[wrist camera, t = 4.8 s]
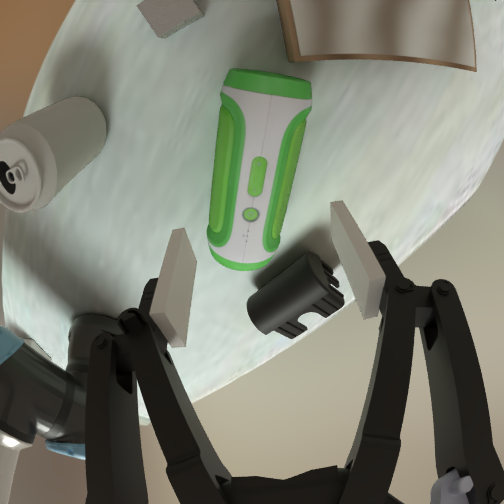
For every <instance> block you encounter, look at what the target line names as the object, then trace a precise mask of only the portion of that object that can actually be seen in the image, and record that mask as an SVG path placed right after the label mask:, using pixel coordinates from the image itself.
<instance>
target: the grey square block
mask: <svg viewBox="0 0 504 504" xmlns="http://www.w3.org/2000/svg"><path fill="white" fill-rule="evenodd" d="M137 7H138V8H139V10H140V11H141V13H142V14H143V15H144V17H145V18H146V20H147V21H148V23H149V24H150V26H151V27H152V29H153V30H154V32H155V33H156V35H157V36H158V37H159V38H167V37H169V36H170V35H172V34H173V33H175V32H177V31H178V30H180V29H182V28H184V27H185V26H187V25H189V24H191V23H192V22H194V21H196V20H198V19H200V18H202V17H204V15H203V13H202V12H201V10H200V9H199V7H198V6H197V5H196V3H195V2H194V0H144V1H143V2H141V3H140V4H138V5H137Z"/></svg>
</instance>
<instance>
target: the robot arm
mask: <svg viewBox="0 0 504 504" xmlns="http://www.w3.org/2000/svg"><path fill="white" fill-rule="evenodd" d="M330 206H331V240H332V242H333V244H334V247H335V249H336V251H337V254H338V256H339V258H340V261H341V263H342V266H343V268H344V270H345V273H346V275H347V278H348V280H349V283H350V285H351V288H352V291H353V293H354V296H355V298H356V301H357V303H358V306H359V309H360V312H361V314H362V317H363V319H368V318H372V317H377V316H378V313H379V309H380V312H381V314H382V319H381V324H380V327H379V330H380V331H379V337H378V343H377V349H376V355H375V360H374V364H373V369H372V374H371V379H370V384H369V387H368V392H367V396H366V400H365V404H364V408H363V411H362V415H361V419H360V422H359V426H358V429H357V433H356V436H355V440H354V443H353V446H352V448H351V451H350V453H349V456H348V458H347V462H346V464H345V467H344V468H337V465H336V466H331V467H325V468H320V469H314V470H310V471H307V472H305V473H302V474H299V475H297V476H294V477H291V478H288V479H285V480H280V479H273V478H265V477H259V476H249V477H232V476H231V474H230V473H229V472H228V470H227V469H226V467H225V466H224V465H223V464H222V462H221V461H220V459H219V457H218V456H217V454H216V452H215V450H214V448H213V446H212V444H211V442H210V440H209V439H208V437H207V435H206V433H205V431H204V429H203V427H202V425H201V423H200V421H199V419H198V417H197V415H196V412H195V410H194V408H193V406H192V404H191V402H190V400H189V398H188V395H187V393H186V391H185V389H184V386H183V384H182V382H181V380H180V377H179V375H178V373H177V370H176V368H175V366H174V363H173V361H172V358H171V356H170V353H169V352H168V350H167V343H169V344H170V346H171V347H172V348H176V347H186V340H187V331H188V323H189V315H190V308H191V300H192V293H193V286H194V279H195V272H196V266H197V260H196V258H195V255H194V252H193V250H192V247H191V245H190V242H189V239H188V237H187V234H186V231H185V228H180V229H175V230H172V234H171V237H170V240H169V243H168V247H167V250H166V254H165V257H164V260H163V264H162V267H161V271H160V275H159V278H154V279H150V280H149V281H148V283H147V284H146V285H145V288H144V291H143V295H142V298H141V301H140V305H139V308H138V309H137V308H129V309H127V310H125V311H124V312H122V313H121V314H120V316H119V317H118V320H114V319H111V318H108V317H105V316H101V315H93V314H87V315H81V316H79V317H77V318H75V319H74V321H73V323H72V325H71V328H70V330H69V335H68V339H69V347H68V364H67V368H66V371H65V370H63V369H62V368H60V367H59V366H57V365H56V364H54V363H53V362H52V361H50V360H49V359H47V358H46V357H44V356H43V355H42V354H40V353H39V352H37V351H36V350H35V349H33V348H32V347H31V346H29V345H28V344H27V343H26V342H24V341H25V340H24V339H23V338H20V337H18V336H17V335H15V334H14V333H13V332H11V331H10V330H9V329H7V328H6V327H5V326H2V325H0V504H8V503H9V497H10V491H11V486H12V481H13V476H14V472H15V467H16V463H17V459H18V455H19V451H20V450H21V449H23V448H27V447H30V446H32V445H33V442H34V439H35V435H36V434H37V435H40V436H42V437H43V438H45V439H46V440H45V443H46V448H47V449H49V450H51V451H54V452H57V453H61V454H64V455H67V456H71V457H75V458H79V459H83V460H85V461H86V478H87V491H88V494H87V498H86V503H85V504H148V494H147V487H146V480H145V474H144V466H143V458H142V449H141V440H140V429H139V416H138V399H137V381H138V384H139V387H140V390H141V394H142V397H143V400H144V403H145V406H146V409H147V412H148V415H149V417H150V420H151V423H152V426H153V428H154V431H155V434H156V436H157V439H158V441H159V444H160V446H161V449H162V451H163V454H164V456H165V458H166V461H167V468H166V473H167V476H168V479H169V481H170V483H171V485H172V487H173V489H174V492H175V494H176V496H177V498H178V500H179V502H180V504H404V503H402V502H401V501H399V500H398V499H397V498H395V497H394V496H392V495H391V494H389V493H388V490H389V487H390V484H391V481H392V477H393V474H394V471H395V467H396V463H397V460H398V456H399V452H400V447H401V440H400V432H401V428H402V423H403V418H404V413H405V407H406V401H407V395H408V389H409V382H410V375H411V367H412V357H413V346H414V334H415V327H419V329H420V334H421V339H422V344H423V349H424V354H425V360H426V365H427V372H428V379H429V386H430V393H431V401H432V411H433V422H434V437H435V457H436V468H437V474H438V478H439V479H438V480H437V481H436V482H435V483H434V485H433V487H432V489H431V503H430V504H500V503H501V502H502V501H503V500H504V470H503V468H502V465H501V463H500V460H499V458H498V455H497V453H496V451H495V448H494V446H493V442H492V432H491V423H490V416H489V410H488V404H487V398H486V393H485V387H484V382H483V378H482V373H481V369H480V365H479V362H478V357H477V353H476V349H475V346H474V342H473V339H472V336H471V332H470V329H469V326H468V323H467V320H466V317H465V314H464V311H463V308H462V305H461V302H460V300H459V297H458V294H457V292H456V289H455V287H454V286H453V284H452V283H450V282H449V281H447V280H443V279H439V280H435V281H434V282H433V283H432V286H431V287H424V286H416V285H415V284H414V283H413V282H412V281H411V280H409V279H407V278H404V276H403V274H402V273H401V271H400V269H399V267H398V266H397V264H396V262H395V261H394V259H393V257H392V256H391V254H390V253H389V251H388V249H387V247H386V246H385V245H384V244H383V243H381V242H380V241H379V240H378V241H372V242H367V241H366V239H365V237H364V235H363V234H362V232H361V230H360V229H359V227H358V225H357V224H356V222H355V220H354V218H353V217H352V215H351V214H350V212H349V210H348V209H347V207H346V205H345V204H344V202H343V201H335V202H330Z"/></svg>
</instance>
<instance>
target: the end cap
mask: <svg viewBox="0 0 504 504" xmlns="http://www.w3.org/2000/svg"><path fill="white" fill-rule="evenodd" d="M332 275H333V270H332V268H331V267H329V266H328V265H327V264H326V263H324V262H323V261H322V260H321V259H320V257H319V256H318V255H316V254H315V253H313V252H307V253H305V254H304V255H303V256H301V257H300V258H299V259H298V260H296V261H295V262H294V263H293V264H291V265H290V266H289V267H288V268H286V269H285V270H284V271H283V272H281V273H280V274H279V275H277V276H276V277H275V278H274V279H272V280H271V281H270V282H269V283H267V284H266V285H265V286H263V287H262V288H261V289H260V290H258V291H257V292H256V293H254V294H253V295H252V296H250V297H249V299H248V301H247V311H248V315H249V317H250V319H251V321H252V323H253V324H254V325H255V326H256V328H257V329H258V330H260V331H261V332H262V333H264V334H265V335H267V334H268V333H270V332H272V331H273V330H274V331H276V332H278V333H280V334H282V335H284V336H286V337H288V338H290V339H293V338H295V337H296V336H298V335H300V334H301V333H303V332H305V331H306V330H307V327H306V326H305V325H303V324H301V323H299V322H298V321H297V320H298V318H299V317H300V316H301V315H302V314H305V313H308V312H316V313H318V314H320V315H321V316H323V317H325V318H327V317H328V316H330V315H331V314H333V313H334V312H336V311H337V310H339V309H340V308H342V307H343V305H344V303H345V302H344V298H343V297H344V295H343V294H342V293H340V292H339V291H338V290H336V289H335V288H334V287H333V286H331V285H330V284H332V285H334V286H335V287H336V288H338V287H339V281H338V280H337V279H336V278H335V277H334V276H332Z"/></svg>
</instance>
